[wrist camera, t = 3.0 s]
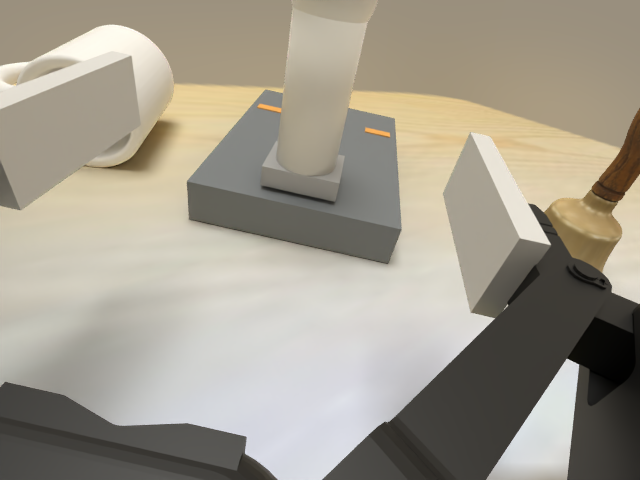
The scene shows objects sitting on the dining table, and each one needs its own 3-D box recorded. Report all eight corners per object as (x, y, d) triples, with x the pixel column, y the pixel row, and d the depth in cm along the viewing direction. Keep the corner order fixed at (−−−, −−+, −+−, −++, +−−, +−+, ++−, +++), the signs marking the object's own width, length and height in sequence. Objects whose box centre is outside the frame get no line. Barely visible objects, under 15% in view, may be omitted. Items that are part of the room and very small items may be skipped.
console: (189, 218, 26) (186, 179, 24) (263, 117, 41) (265, 88, 39) (387, 263, 26) (402, 228, 24) (386, 144, 41) (394, 117, 39)
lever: (259, 187, 24) (281, -86, 16) (275, 156, 28) (301, -80, 19) (334, 204, 24) (397, -61, 16) (341, 171, 28) (395, -59, 19)
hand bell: (626, 326, 25) (896, 81, 15) (508, 305, 24) (708, 39, 15) (569, 247, 31) (732, 40, 22) (475, 230, 31) (597, 9, 21)
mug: (177, 123, 37) (171, 33, 32) (148, 174, 29) (133, 66, 24) (43, 105, 35) (14, 6, 30) (-27, 154, 27) (-81, 33, 22)
